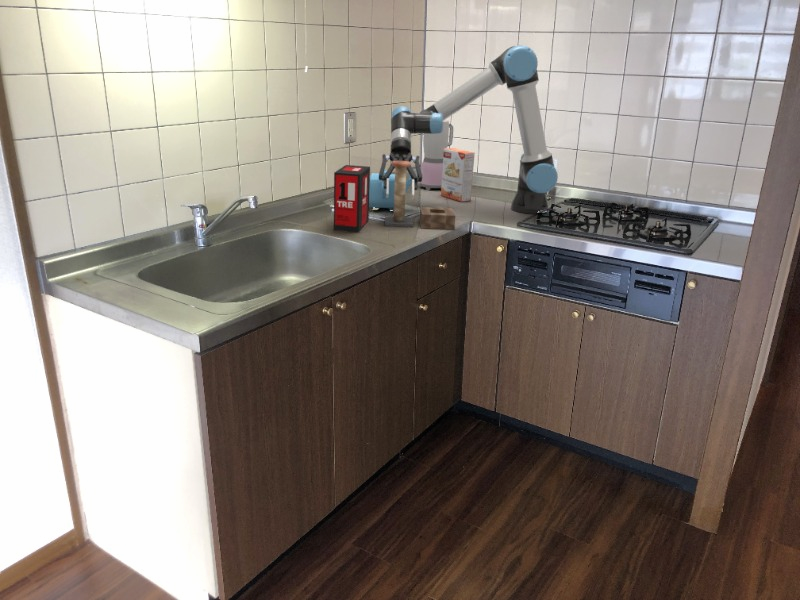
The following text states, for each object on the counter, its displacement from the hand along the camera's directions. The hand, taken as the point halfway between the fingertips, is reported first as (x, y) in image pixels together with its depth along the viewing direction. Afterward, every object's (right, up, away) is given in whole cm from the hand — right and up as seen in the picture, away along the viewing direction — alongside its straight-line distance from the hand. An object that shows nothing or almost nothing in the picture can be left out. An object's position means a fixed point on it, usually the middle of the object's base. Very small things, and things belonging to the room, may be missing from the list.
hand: (400, 196), depth 233 cm
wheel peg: (-1, -8, +7) cm, 10 cm away
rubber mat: (-1, -9, +7) cm, 11 cm away
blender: (+16, +15, +72) cm, 75 cm away
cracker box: (+24, +7, +52) cm, 58 cm away
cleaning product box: (-17, -11, +1) cm, 20 cm away
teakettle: (-6, 0, +29) cm, 30 cm away
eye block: (+13, -9, +7) cm, 18 cm away
